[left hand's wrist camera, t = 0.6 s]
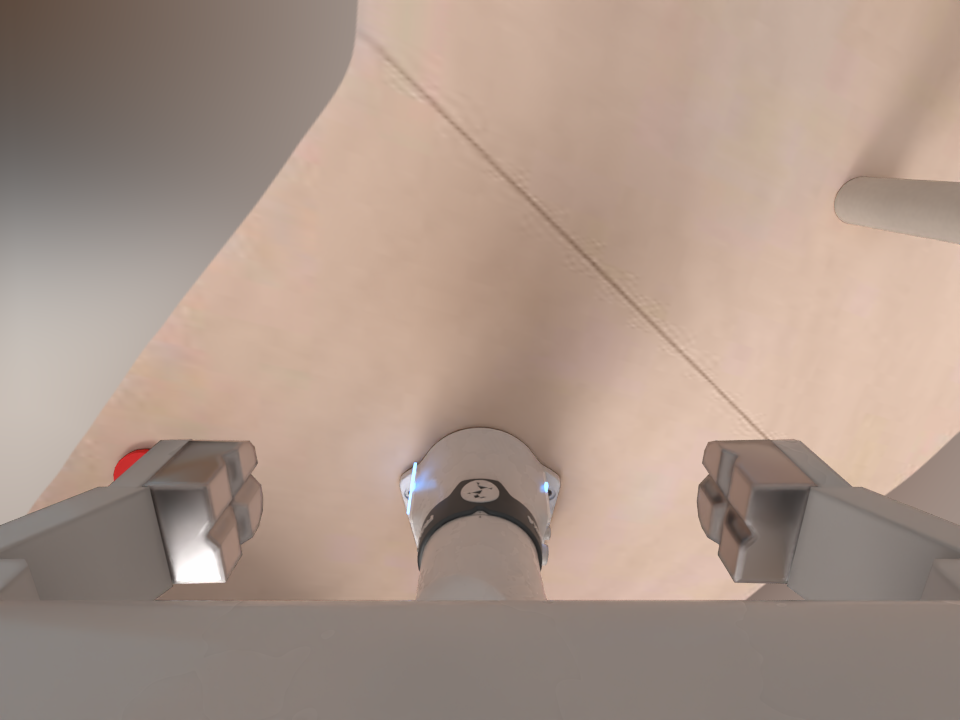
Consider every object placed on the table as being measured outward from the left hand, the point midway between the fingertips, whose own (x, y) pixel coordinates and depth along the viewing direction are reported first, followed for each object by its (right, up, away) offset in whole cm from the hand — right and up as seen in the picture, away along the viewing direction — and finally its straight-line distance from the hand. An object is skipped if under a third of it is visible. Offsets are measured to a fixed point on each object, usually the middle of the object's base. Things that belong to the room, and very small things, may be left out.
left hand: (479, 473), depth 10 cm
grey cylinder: (+37, +18, +45) cm, 61 cm away
